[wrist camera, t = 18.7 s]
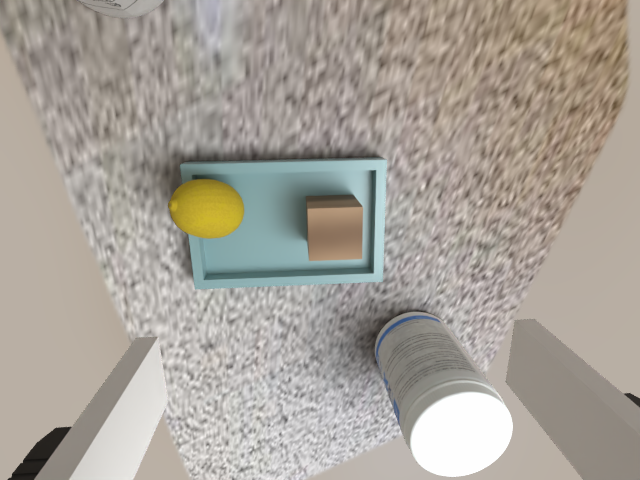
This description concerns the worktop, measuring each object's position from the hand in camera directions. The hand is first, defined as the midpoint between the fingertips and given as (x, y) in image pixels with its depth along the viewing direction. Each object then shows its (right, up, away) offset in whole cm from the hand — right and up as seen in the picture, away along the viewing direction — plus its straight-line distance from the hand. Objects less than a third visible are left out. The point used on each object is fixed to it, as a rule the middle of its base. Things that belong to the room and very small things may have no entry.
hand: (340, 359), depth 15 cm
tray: (-4, +7, +28) cm, 29 cm away
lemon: (-8, +7, +25) cm, 28 cm away
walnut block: (0, +7, +27) cm, 28 cm away
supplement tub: (+11, -8, +34) cm, 36 cm away
